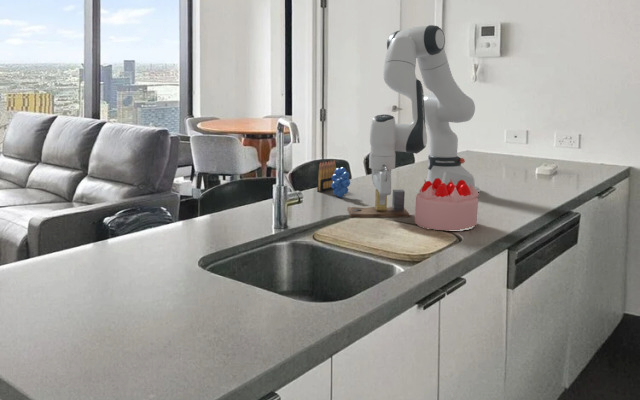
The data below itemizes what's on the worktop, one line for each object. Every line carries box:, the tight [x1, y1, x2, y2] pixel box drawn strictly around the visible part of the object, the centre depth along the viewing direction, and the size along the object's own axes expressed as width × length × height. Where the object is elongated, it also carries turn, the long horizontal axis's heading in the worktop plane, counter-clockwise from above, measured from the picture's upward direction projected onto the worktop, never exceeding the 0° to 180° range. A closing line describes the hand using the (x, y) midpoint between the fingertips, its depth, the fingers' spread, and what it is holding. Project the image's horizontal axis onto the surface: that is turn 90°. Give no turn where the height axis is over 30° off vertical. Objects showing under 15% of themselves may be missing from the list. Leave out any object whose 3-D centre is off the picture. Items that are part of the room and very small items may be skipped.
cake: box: [414, 178, 480, 231], centre depth 209 cm, size 20×20×14 cm
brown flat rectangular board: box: [347, 206, 410, 218], centre depth 224 cm, size 20×11×1 cm, turn 93°
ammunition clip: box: [316, 159, 337, 193], centre depth 263 cm, size 11×2×12 cm, turn 140°
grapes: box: [331, 166, 351, 199], centre depth 249 cm, size 12×7×12 cm, turn 31°
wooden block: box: [374, 188, 388, 210], centre depth 224 cm, size 4×4×7 cm
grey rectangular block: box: [391, 189, 406, 212], centre depth 224 cm, size 4×4×7 cm
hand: (381, 202), depth 224 cm, fingers closed on wooden block, 3 cm apart
